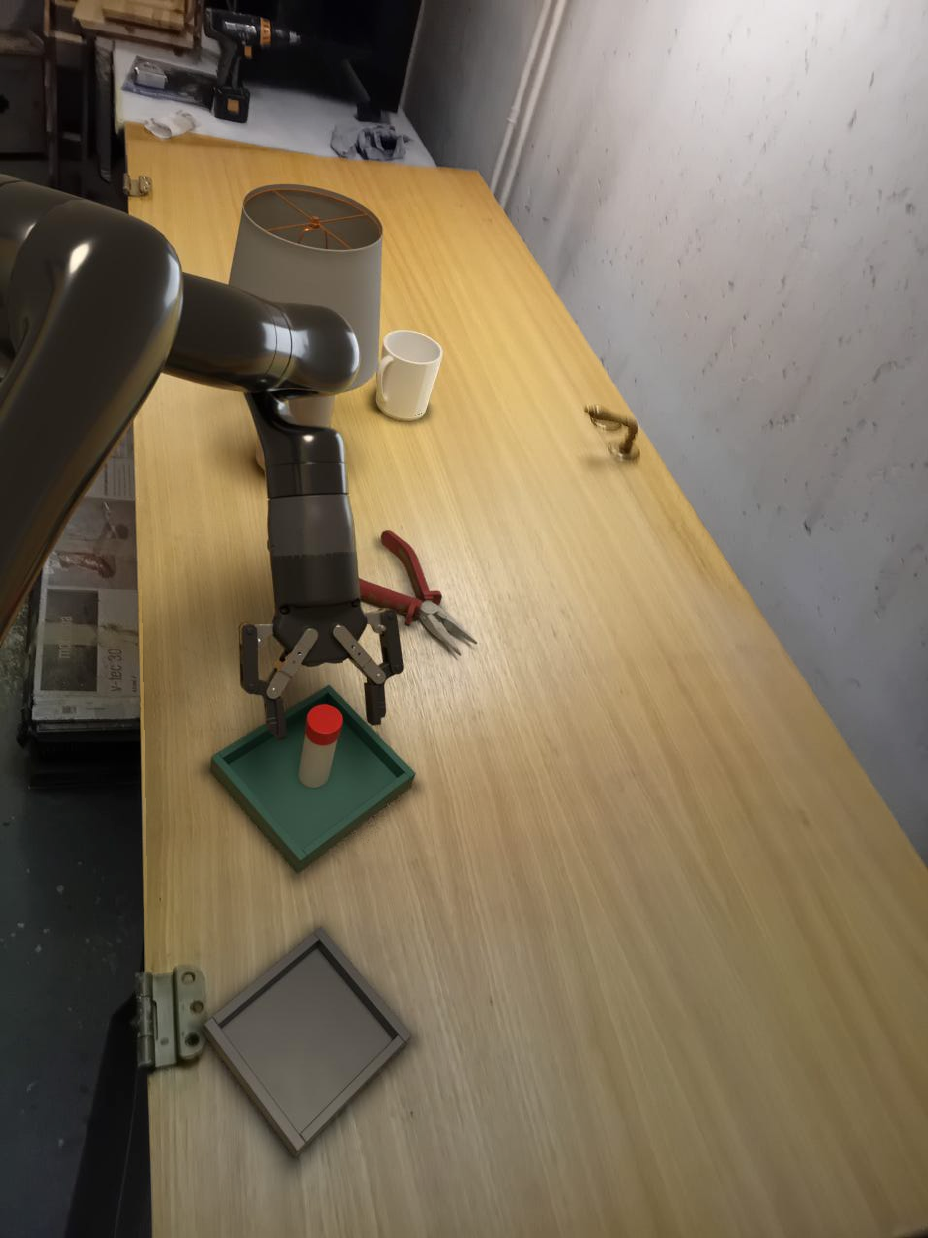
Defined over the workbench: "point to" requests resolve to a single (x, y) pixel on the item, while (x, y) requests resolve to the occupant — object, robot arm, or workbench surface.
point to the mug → (406, 374)
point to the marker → (319, 745)
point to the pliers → (425, 599)
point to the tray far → (300, 813)
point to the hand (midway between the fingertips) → (328, 731)
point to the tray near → (306, 1038)
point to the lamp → (313, 268)
